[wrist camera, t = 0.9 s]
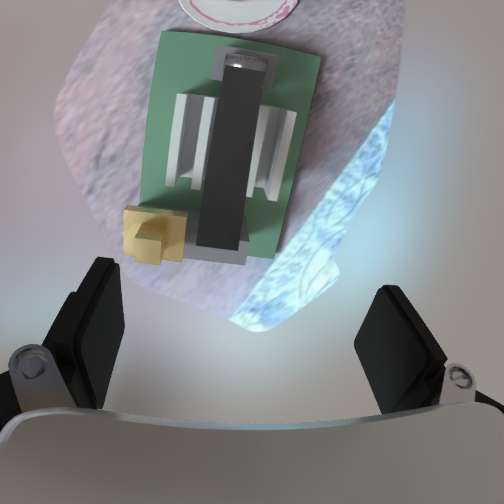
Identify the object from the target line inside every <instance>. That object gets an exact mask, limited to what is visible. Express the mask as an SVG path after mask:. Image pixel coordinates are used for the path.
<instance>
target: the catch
mask: <svg viewBox="0 0 504 504" xmlns="http://www.w3.org/2000/svg"><path fill="white" fill-rule="evenodd" d="M187 217H188V212H181V211H173V210H165V209H156V208H147V207H139V206H130V205H127V206H126V208H125V209H124V255H129V256H134V262H140V263H147V264H155V265H160V264H161V260H168V261H176V262H182V261H183V256H184V246H185V236H186V226H187Z"/></svg>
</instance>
